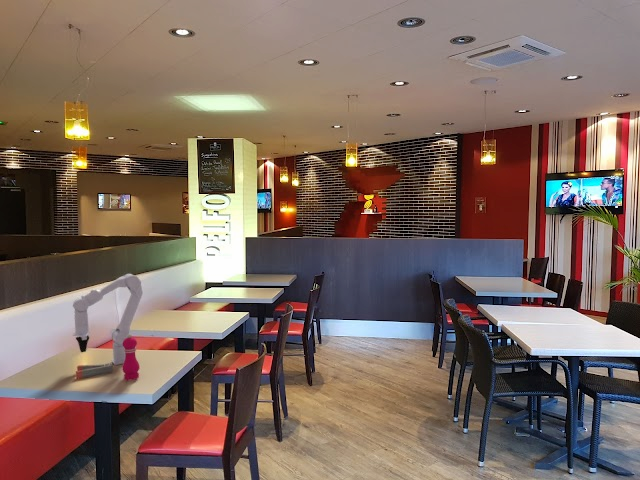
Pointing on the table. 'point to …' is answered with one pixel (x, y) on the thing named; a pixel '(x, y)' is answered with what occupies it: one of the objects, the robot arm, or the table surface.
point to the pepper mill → (130, 359)
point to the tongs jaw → (87, 367)
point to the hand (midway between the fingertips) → (83, 351)
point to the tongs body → (94, 371)
